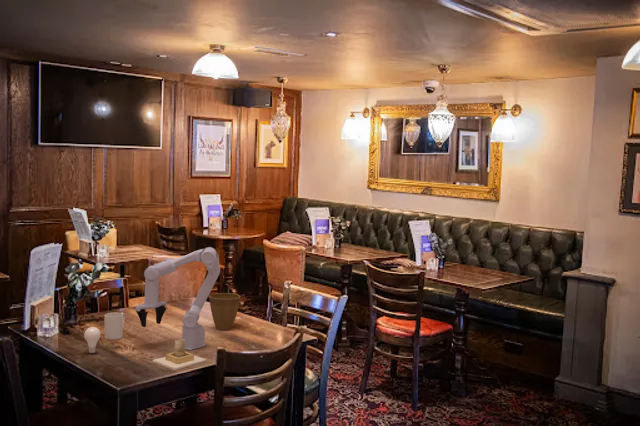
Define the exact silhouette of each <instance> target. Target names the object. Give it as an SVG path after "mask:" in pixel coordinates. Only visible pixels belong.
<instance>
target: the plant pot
mask: <svg viewBox="0 0 640 426" xmlns="http://www.w3.org/2000/svg"><path fill="white" fill-rule="evenodd" d="M208 298H209V305H210V311H211V315H212V316H211V317H212V320H213V322H214V323H213V324H214V326H215V328H216V330H218V331H229V329H230V330H231V329H232V328H233V326H234V323H235V321H236V317H237V314H238V310H239V306H240V301H241V295H239V294H237V293H231V292H230V293H229V292H220V293H219V292H217V293H212V294H209V296H208Z"/></svg>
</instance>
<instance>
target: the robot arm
mask: <svg viewBox="0 0 640 426" xmlns="http://www.w3.org/2000/svg"><path fill="white" fill-rule="evenodd" d="M219 257H220V255H219V254H218V252H217V250H216V249H215V248H213V247H212V246H208V247H205V248H201V249H198V250H194V251H193V252H190V253H188V254H186V255H183V256H181V257H179V258H175V259H172V258H164V259H163V261H161V262H158V263H156V262H155V263H153V265H150V266H148V267H147V268H146V269H145V270H144V273H143V277H144V278H145V280H144V282H145V283H144V303H142V304H140V305H136V306H135V312H136V314H137V316H138V319H139V322H140V326H141V327H143V328H146V327H147V317H148V312H149V311H146V310H150V309H154V311H155V322H156V324H158V325H160V324H161V323H162V319H163V316H164V315H165V312H166V310H167V306H168V305H167V303H168V302H167V301H164V300H163V301H159V286H160V285H159V283H160V282H159V277H163V276H166V275H169V274H172V273H174V272H175V271H176V270H177V268H178V267H181V266H183V265H186V264H189V263H192V262H196V263H201V262H202V264H203V265H204V266H205V267H206V268H205V269H206V270H207V272H208V273H207V274H206V276H205V278H204V281H203V283H202V285H201V286H200V289H199V290H198V293H197V295H196V297H195V298H194V301H193V303H192V305H191V307H190V308H189V309H188V310H187V311H185V314H184V316H183V318H182V333H181V334H182V335H181V336H182V338H181V339H184V340H185V350H187V351H191V350H195V349H199V348H203V347H206V346H207V345H206V343H205V341H206V330H205V327H204V326H203V325H202V324H200V323H199V319H200V314H201V312H202V309H203V307H204V305H205V303H206V302H207V299H208V298H209V296H210V295H211V294H210V293H211V292H212V289H213V288H214V286H215V284H216V281H217V279H218V277H219V276H220V273H221V266H220V258H219Z"/></svg>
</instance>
